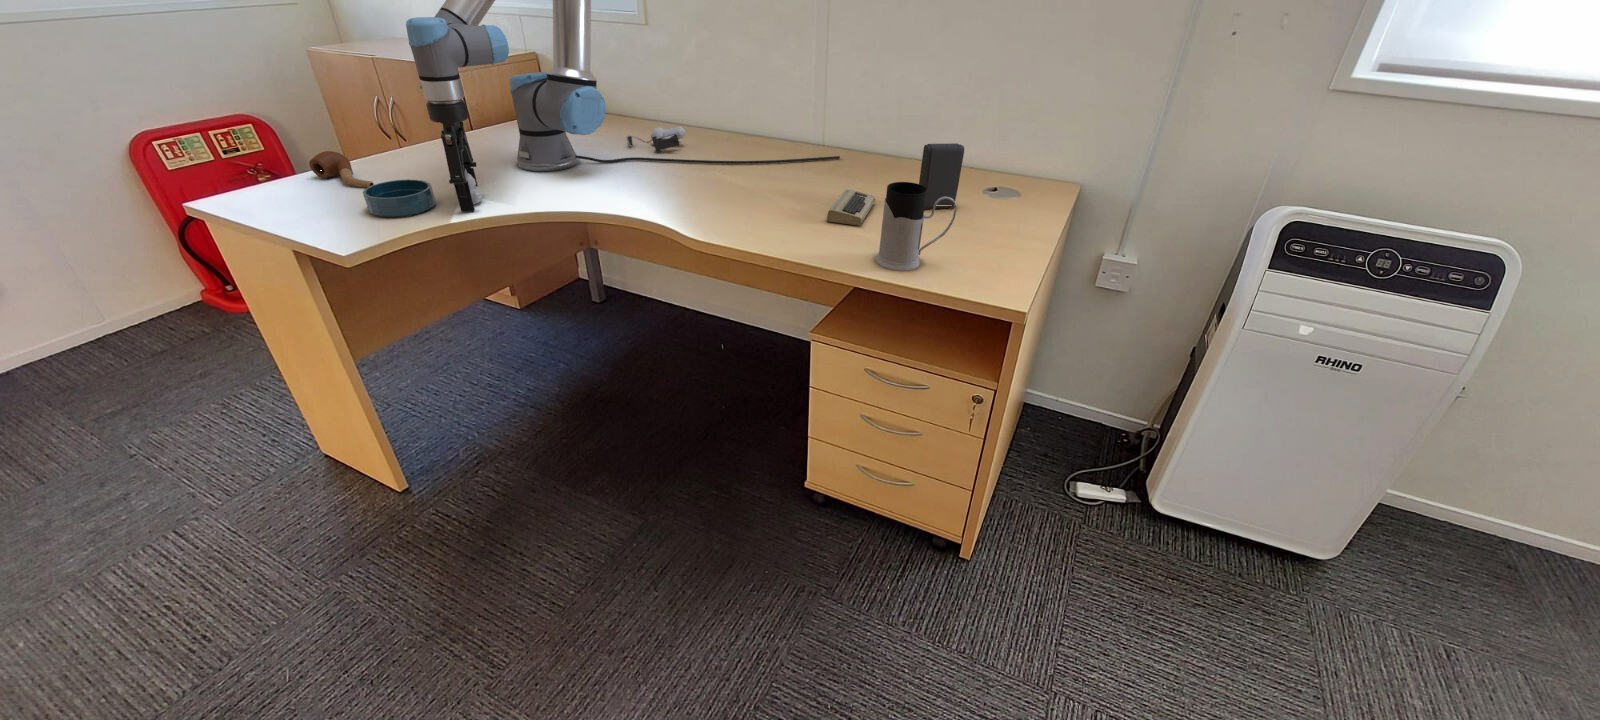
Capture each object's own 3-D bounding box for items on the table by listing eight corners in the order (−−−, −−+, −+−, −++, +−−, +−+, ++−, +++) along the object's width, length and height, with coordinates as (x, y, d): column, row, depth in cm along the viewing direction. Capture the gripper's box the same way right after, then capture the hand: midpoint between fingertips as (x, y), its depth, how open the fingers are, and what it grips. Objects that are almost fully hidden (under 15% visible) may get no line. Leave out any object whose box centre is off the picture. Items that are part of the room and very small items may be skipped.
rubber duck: (490, 200, 150) (482, 166, 146) (472, 210, 144) (463, 174, 140) (470, 198, 151) (461, 164, 146) (451, 207, 145) (441, 172, 141)
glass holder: (875, 251, 133) (883, 179, 125) (944, 256, 132) (957, 184, 124) (876, 268, 125) (884, 193, 117) (949, 274, 125) (962, 198, 116)
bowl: (440, 196, 151) (435, 178, 149) (430, 216, 140) (425, 196, 138) (377, 200, 148) (371, 181, 145) (362, 220, 137) (355, 200, 135)
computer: (861, 227, 144) (862, 212, 142) (826, 222, 146) (827, 208, 144) (874, 205, 157) (876, 191, 155) (842, 200, 159) (843, 187, 157)
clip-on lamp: (623, 160, 191) (680, 151, 187) (615, 139, 187) (673, 129, 183) (635, 146, 200) (689, 137, 196) (628, 126, 196) (683, 116, 193)
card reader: (950, 203, 159) (960, 142, 151) (956, 209, 156) (966, 146, 148) (914, 204, 158) (923, 142, 150) (920, 210, 155) (929, 146, 146)
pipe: (340, 170, 165) (332, 146, 162) (392, 182, 158) (384, 158, 155) (311, 178, 159) (302, 153, 156) (364, 190, 153) (355, 165, 149)
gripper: (434, 90, 143) (459, 189, 155) (415, 112, 125) (445, 221, 138) (471, 90, 145) (493, 187, 157) (457, 111, 127) (483, 219, 140)
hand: (470, 203), depth 147 cm, fingers open, 10 cm apart
